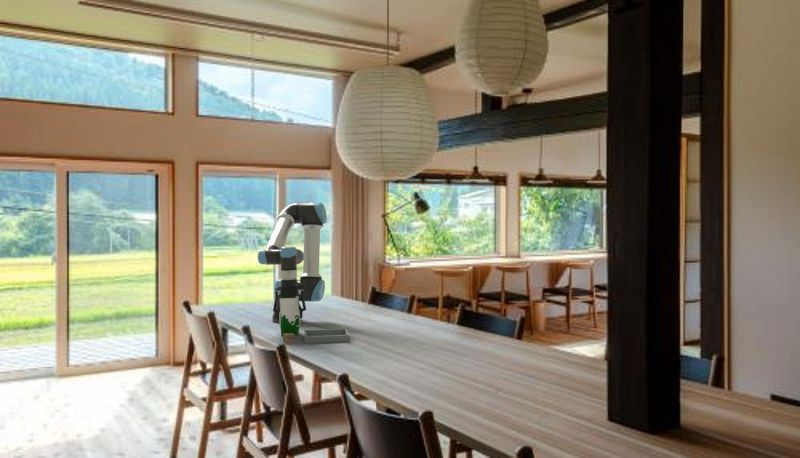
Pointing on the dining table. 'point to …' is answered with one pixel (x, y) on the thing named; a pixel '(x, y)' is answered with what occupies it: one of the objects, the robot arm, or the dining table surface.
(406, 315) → the dining table surface
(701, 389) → the dining table surface
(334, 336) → the tray
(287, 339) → the walnut block
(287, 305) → the soya milk
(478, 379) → the dining table surface
